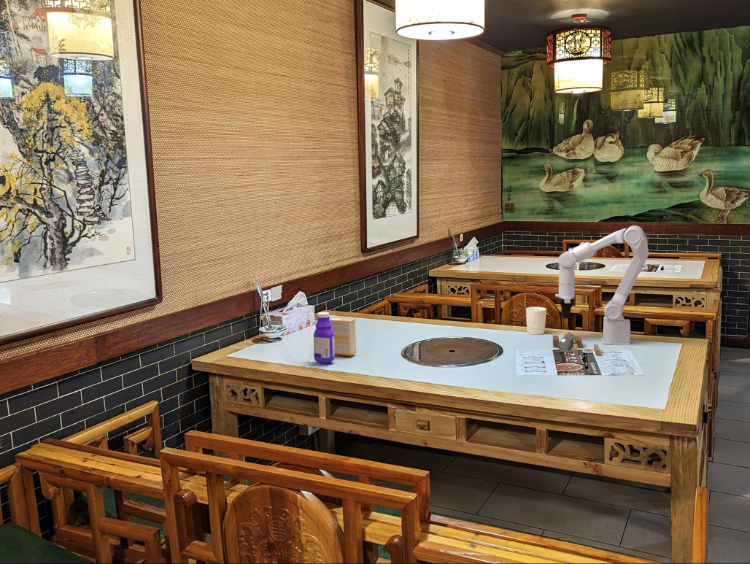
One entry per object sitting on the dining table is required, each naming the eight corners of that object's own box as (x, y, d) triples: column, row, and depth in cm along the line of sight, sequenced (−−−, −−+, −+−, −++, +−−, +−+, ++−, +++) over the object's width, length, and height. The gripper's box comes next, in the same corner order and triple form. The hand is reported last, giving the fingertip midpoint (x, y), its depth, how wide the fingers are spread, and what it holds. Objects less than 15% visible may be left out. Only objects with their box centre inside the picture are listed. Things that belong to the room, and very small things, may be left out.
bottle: (337, 359, 238) (335, 311, 235) (331, 364, 233) (329, 315, 230) (318, 358, 240) (316, 310, 238) (311, 362, 235) (310, 314, 232)
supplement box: (356, 352, 247) (355, 318, 245) (350, 356, 242) (349, 320, 240) (337, 350, 250) (335, 316, 248) (330, 354, 246) (329, 319, 244)
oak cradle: (597, 351, 242) (597, 344, 241) (600, 357, 233) (600, 350, 232) (572, 350, 243) (572, 343, 243) (574, 356, 235) (574, 349, 234)
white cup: (547, 335, 267) (548, 310, 265) (527, 335, 267) (528, 310, 265) (543, 330, 275) (543, 306, 273) (524, 330, 275) (524, 306, 273)
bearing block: (580, 344, 251) (580, 336, 251) (581, 349, 245) (582, 340, 244) (552, 343, 254) (552, 335, 253) (553, 348, 247) (553, 339, 246)
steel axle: (564, 343, 255) (563, 333, 254) (575, 343, 253) (574, 332, 253) (558, 351, 244) (557, 340, 244) (570, 350, 242) (568, 340, 242)
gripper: (555, 280, 264) (554, 314, 266) (556, 286, 250) (555, 322, 252) (573, 280, 262) (572, 314, 264) (576, 286, 248) (575, 322, 250)
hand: (565, 318), depth 258 cm, fingers closed
